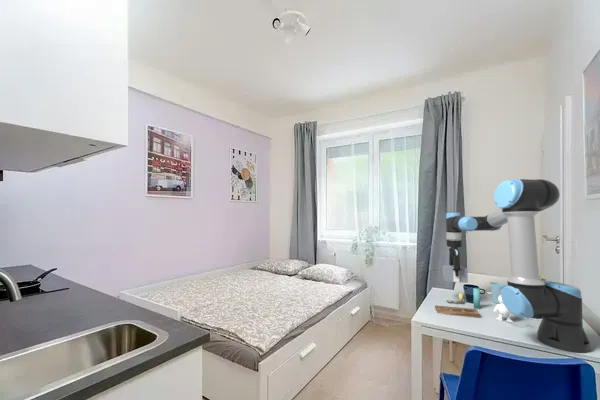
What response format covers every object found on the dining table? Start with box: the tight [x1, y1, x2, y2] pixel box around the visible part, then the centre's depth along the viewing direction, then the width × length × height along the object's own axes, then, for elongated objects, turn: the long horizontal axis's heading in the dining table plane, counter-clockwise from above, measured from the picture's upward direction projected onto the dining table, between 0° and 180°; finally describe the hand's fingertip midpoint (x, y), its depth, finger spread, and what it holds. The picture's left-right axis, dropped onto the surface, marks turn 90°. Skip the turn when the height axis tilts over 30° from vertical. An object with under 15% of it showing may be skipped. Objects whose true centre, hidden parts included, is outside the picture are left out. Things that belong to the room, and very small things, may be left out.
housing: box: [442, 264, 469, 284], centre depth 159 cm, size 8×11×8 cm
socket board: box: [434, 305, 481, 319], centre depth 142 cm, size 8×19×2 cm, turn 72°
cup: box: [489, 281, 507, 305], centre depth 157 cm, size 8×8×10 cm
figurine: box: [493, 295, 513, 323], centre depth 132 cm, size 8×5×12 cm, turn 60°
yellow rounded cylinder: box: [446, 292, 466, 305], centre depth 157 cm, size 4×8×5 cm, turn 73°
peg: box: [472, 287, 481, 310], centre depth 149 cm, size 3×3×10 cm
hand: (454, 279), depth 159 cm, fingers closed on housing, 8 cm apart
